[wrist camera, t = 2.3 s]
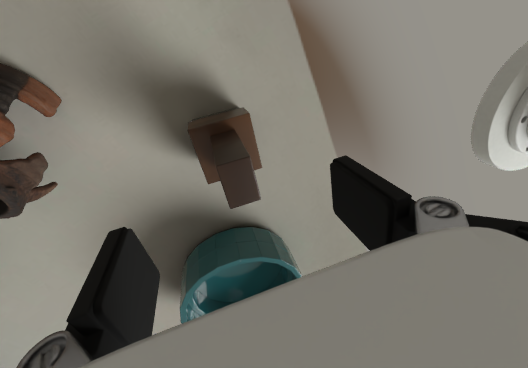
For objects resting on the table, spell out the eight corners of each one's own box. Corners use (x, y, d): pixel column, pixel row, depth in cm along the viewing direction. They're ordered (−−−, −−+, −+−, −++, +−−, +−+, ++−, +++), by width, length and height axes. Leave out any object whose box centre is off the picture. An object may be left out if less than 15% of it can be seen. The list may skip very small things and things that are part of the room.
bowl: (279, 209, 28) (296, 239, 23) (294, 282, 35) (310, 317, 30) (164, 247, 26) (157, 288, 22) (204, 316, 33) (205, 359, 28)
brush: (240, 104, 22) (270, 133, 13) (252, 152, 24) (285, 204, 15) (188, 118, 21) (184, 159, 12) (206, 166, 23) (212, 228, 15)
